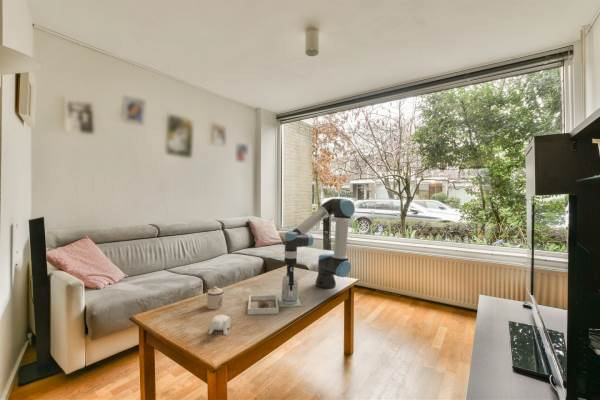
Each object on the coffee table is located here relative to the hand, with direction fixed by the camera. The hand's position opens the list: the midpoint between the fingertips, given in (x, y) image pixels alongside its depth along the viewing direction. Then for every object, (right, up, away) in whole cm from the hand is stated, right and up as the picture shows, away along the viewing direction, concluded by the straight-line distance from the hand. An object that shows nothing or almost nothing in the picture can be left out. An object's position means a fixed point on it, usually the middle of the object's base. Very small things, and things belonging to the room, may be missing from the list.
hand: (289, 291), depth 169 cm
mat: (0, -7, 0) cm, 7 cm away
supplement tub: (0, -6, 0) cm, 6 cm away
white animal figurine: (-32, -7, -38) cm, 50 cm away
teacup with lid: (-44, -6, -8) cm, 45 cm away
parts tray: (-15, -6, -7) cm, 18 cm away
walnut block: (-15, -7, -13) cm, 21 cm away
